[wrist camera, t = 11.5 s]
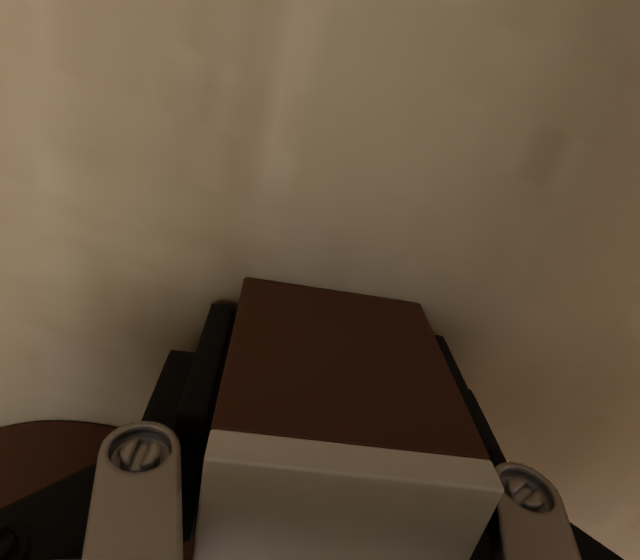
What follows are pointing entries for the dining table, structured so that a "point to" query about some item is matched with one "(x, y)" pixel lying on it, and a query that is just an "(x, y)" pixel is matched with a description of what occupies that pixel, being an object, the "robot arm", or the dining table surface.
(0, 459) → the cake
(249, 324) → the cake slice
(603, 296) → the dining table surface
